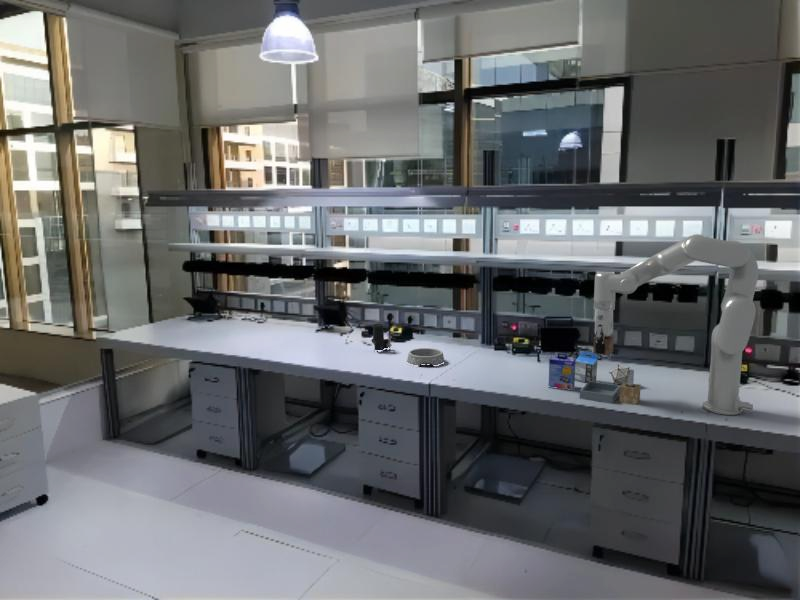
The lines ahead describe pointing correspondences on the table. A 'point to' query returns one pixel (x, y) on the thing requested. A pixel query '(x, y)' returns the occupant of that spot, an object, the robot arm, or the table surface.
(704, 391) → the table surface
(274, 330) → the table surface
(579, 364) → the label tape box
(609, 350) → the walnut block
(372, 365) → the table surface
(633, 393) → the oak block
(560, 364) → the ink cartridge box
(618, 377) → the beige spiked polyhedron
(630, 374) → the pin gauge
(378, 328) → the scope
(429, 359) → the dog bowl
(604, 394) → the tray
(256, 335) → the table surface
